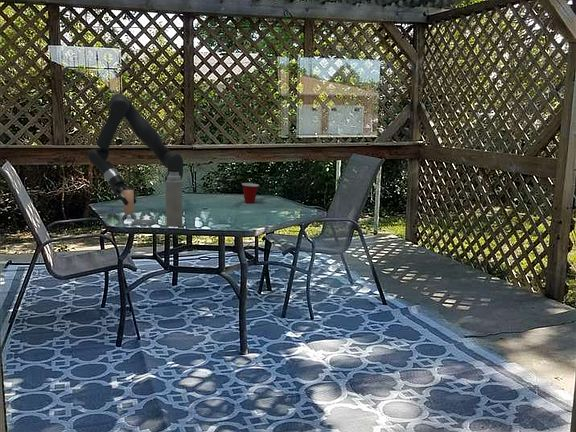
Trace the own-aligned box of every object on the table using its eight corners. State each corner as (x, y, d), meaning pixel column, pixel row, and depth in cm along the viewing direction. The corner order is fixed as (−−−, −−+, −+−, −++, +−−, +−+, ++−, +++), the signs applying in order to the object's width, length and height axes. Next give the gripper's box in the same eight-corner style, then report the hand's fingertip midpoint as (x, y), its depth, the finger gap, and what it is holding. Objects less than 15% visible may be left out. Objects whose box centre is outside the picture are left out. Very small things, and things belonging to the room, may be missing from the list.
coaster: (154, 220, 321) (154, 219, 321) (157, 224, 310) (157, 223, 310) (130, 221, 317) (130, 220, 317) (132, 225, 306) (132, 224, 306)
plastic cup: (258, 204, 379) (258, 185, 377) (240, 204, 379) (240, 184, 377) (259, 201, 390) (259, 182, 388) (242, 201, 390) (242, 182, 388)
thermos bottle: (167, 223, 314) (166, 168, 309) (183, 223, 314) (183, 168, 309) (165, 226, 306) (164, 170, 301) (181, 226, 306) (180, 170, 301)
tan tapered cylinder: (133, 211, 328) (133, 189, 325) (134, 213, 323) (133, 190, 321) (123, 212, 326) (122, 189, 324) (124, 214, 321) (123, 191, 319)
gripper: (120, 182, 334) (137, 206, 330) (100, 184, 322) (117, 210, 318) (127, 173, 331) (144, 197, 327) (107, 175, 318) (124, 200, 315)
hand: (131, 203), depth 322 cm, fingers closed on tan tapered cylinder, 5 cm apart
